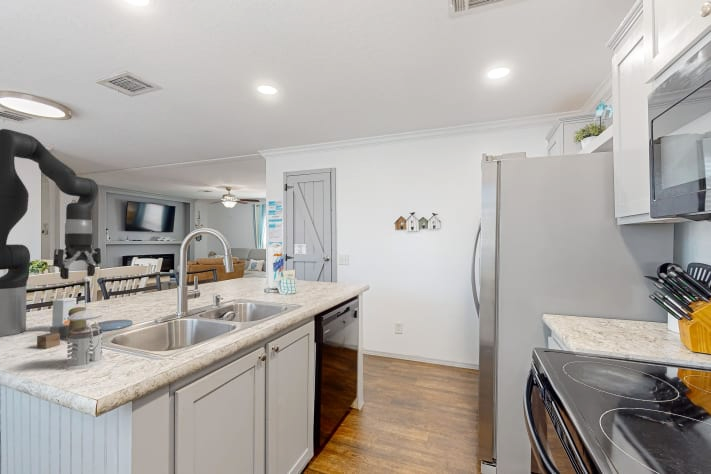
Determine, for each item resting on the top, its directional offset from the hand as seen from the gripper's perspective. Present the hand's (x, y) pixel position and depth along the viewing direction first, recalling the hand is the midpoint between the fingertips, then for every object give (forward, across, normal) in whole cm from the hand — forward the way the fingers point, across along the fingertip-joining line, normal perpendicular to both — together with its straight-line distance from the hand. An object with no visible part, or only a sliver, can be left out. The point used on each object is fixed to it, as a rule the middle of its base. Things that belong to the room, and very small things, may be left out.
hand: (78, 277), depth 116 cm
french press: (+22, +17, +27) cm, 39 cm away
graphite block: (+22, 0, -8) cm, 23 cm away
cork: (+22, 0, 0) cm, 22 cm away
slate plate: (+22, -15, -3) cm, 27 cm away
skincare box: (+22, -7, -16) cm, 28 cm away
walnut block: (+22, +9, 0) cm, 24 cm away
